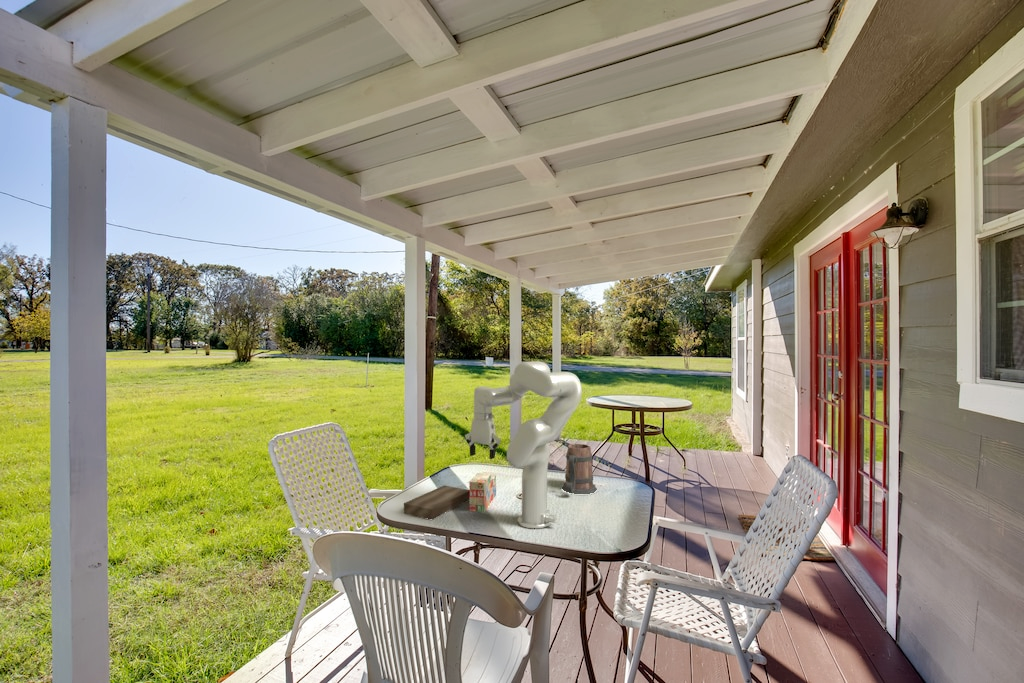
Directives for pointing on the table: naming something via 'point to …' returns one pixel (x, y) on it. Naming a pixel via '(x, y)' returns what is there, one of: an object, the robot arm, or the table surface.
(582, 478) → the tankard
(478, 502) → the stack of blocks
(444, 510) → the plinth
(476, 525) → the table surface
